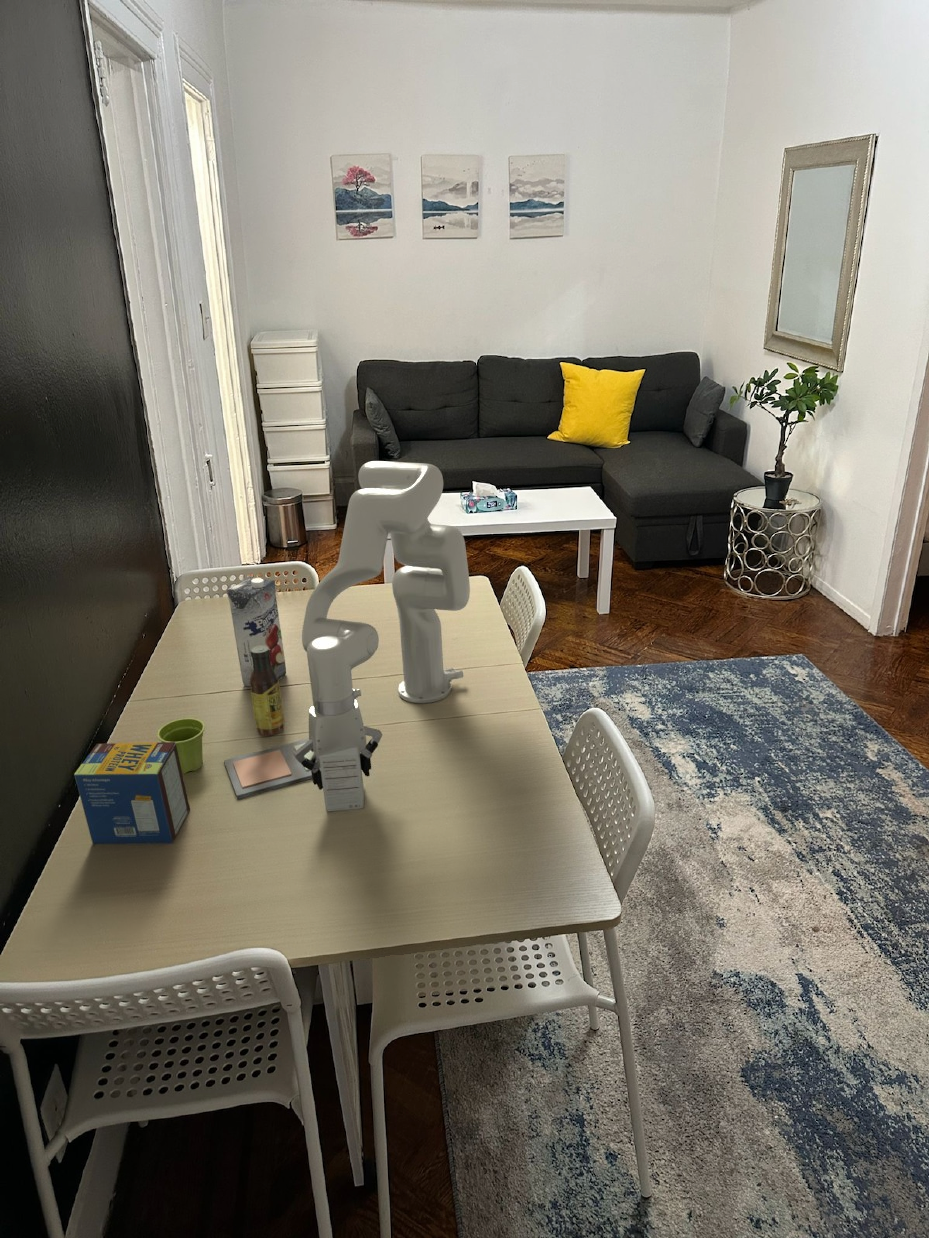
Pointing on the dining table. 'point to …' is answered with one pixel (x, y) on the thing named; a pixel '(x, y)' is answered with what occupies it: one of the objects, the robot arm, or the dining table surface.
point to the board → (267, 769)
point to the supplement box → (342, 780)
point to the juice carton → (256, 624)
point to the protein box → (133, 793)
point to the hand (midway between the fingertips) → (342, 779)
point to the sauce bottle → (265, 693)
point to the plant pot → (185, 741)
